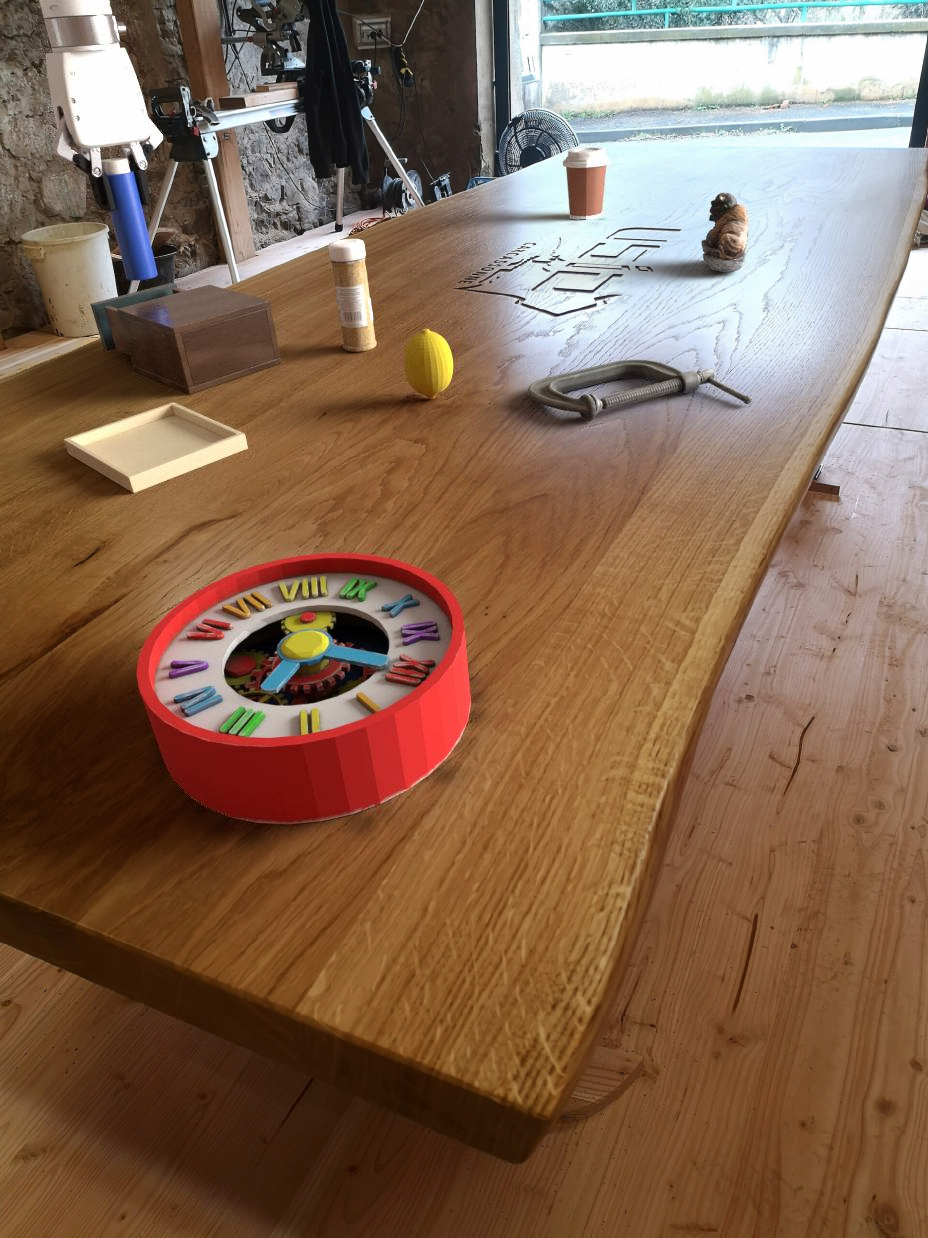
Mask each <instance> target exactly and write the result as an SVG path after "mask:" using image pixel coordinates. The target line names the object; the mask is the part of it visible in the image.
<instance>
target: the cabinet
mask: <svg viewBox="0 0 928 1238" xmlns="http://www.w3.org/2000/svg"><path fill="white" fill-rule="evenodd" d="M117 311H118V315H119V318H120V322H121V325H122V329H123V333H124V336H125V340H126V343H127V347H128V350H129V354H130V355H129V357H130V360H131V364H132V367H133V371H134V372H135V373H137V374H140V375H142V376H145V377H148V378H149V379H152V380H154V381H157V382H158V383H161V384H164V385H167V386H169V387H171V388H172V389H173V388H174V389H176V390H178V391H180V392H183V393H185V394H188V395H193V394H195V393H199V392H201V391H204V390H207V389H210V388H213V387H216V386H220V385H222V384H226V383H228V382H232V381H234V380H237V379H240V378H242V377H246V376H248V375H252V374H254V373H257V372H261V371H263V370H267V369H269V368H272V367H275V366H279V365H281V364H282V361H281V353H280V349H279V343H278V338H277V333H276V328H275V327H276V326H275V321H274V317H273V312H272V306H271V301H270V300H269V299H266V298H261V297H257V296H254V295H250V294H248V293H247V294H245V293H243V292H239V291H235V290H232V289H227V288H224V287H220V286H216V285H212V284H207V285H206V284H205V285H202V286H198V287H195V288H192V289H191V288H190V289H188V290H186V291H183V292H180V293H176V294H172V295H168V296H165V297H161V298H157V299H153V300H150V301H146V302H142V303H138V304H134V305H131V306H127V307H123V308H119V309H117Z"/></svg>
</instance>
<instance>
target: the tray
mask: <svg viewBox="0 0 928 1238" xmlns="http://www.w3.org/2000/svg"><path fill="white" fill-rule="evenodd" d="M63 442H64V445H65V448H66V451H67V454H68V455H70V456H71V457H73V458H74V459H76V460H78V461H80V462H81V463H83V464H85V465H86V466H88V467H90V468H91V469H92V470H95V471H96V472H98V473H99V474H101V475H103V476H104V477H106V478H108V479H109V480H111V481H113V482H114V483H116V484H118V485H119V486H121V487H123V489H126V490H128V492H129V491H130V492H131V493H133V494H135V493H138V492H140V491H143V490H146V489H149V488H151V487H153V486H157V485H159V484H161V483H164V482H165V481H169V480H171V479H174V478H176V477H179V476H182V475H184V474H187V473H189V472H191V471H194V470H196V469H200V468H202V467H204V466H207V465H209V464H212V463H215V462H217V461H221V460H222V459H225V458H227V457H230V456H233V455H236V454H238V453H240V452H243V451H246V450H248V449H249V447H248V441H247V438H246V434H245V433H244V432H242V431H240V430H237V429H235V428H233V427H230V426H228V425H226V424H224V423H221V422H219V421H217V420H214V419H212V418H210V417H208V416H205V415H204V414H202V413H199V412H197V411H194V410H192V409H190V408H188V407H186V406H183V405H182V404H181V405H180V404H178V403H176V402H174V401H173V402H170V403H167V404H164V405H161V406H158V407H154V408H152V409H149V410H146V411H143V412H140V413H137V414H134V415H131V416H128V417H125V418H122V419H119V420H116V421H114V422H110V423H108V424H105V425H102V426H98V427H96V428H92V429H90V430H87V431H84V432H80V433H79V434H75V435H73V436H69V437H67V438H63Z"/></svg>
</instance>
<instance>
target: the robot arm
mask: <svg viewBox="0 0 928 1238" xmlns="http://www.w3.org/2000/svg"><path fill="white" fill-rule="evenodd" d="M38 1H39V6H40V9H41V13H42V17H43V19H44V24H45V27H46V32H47V35H48V39H49V43H50V46H51V47H50V48H51V50H52V52H45V64H46V74H47V82H48V88H49V95H50V100H51V105H52V111H53V114H54V121H55V124H56V128H57V132H56V135H55V139H54V141H53V146H52V152H53V154H54V155H56V156H58V157H60V158H62V159H64V160H66V161H68V162H70V163H71V164H72V165H74V166H75V167H76V168H78V169H79V170H80V171H82V172H83V174H84V175H85V176H88V180H89V183H90V188H91V190H92V191H91V192H92V195H93V199H94V201H95V203H96V205H98V206H99V209H100V210H101V211H105V212H109V213H110V212H112V211H115V209H116V208H115V204H114V200H113V196H112V192H111V188H110V184H109V180H108V177H107V176H103V170H102V166H101V160H102V156H101V148H107V147H114V146H120V147H121V149H122V151H123V154H124V157H125V158H127V160H128V165H129V169H130V171H133V172H134V176H135V180H136V184H137V189H138V193H139V197H140V201H141V206H149V205H150V204H151V202H150V201H151V200H150V198H149V197H150V196H151V195H150V194H151V192H150V187H149V183H148V179H147V175H146V170H147V168H148V163H149V160H150V159H151V157H152V156H153V153H154V150H156V149H157V148H158V146H159V145H160V144H161V143H162V142H163V140H164V135H163V134H162V133H161V131H160V130H159V128H157V126H156V125H155V124H154V123H153V121H152V120H151V118H149V116H148V112H147V107H146V104H145V99H144V96H143V93H142V90H141V87H140V84H139V80H138V78H137V74H136V72H135V70H134V66H133V64H132V61H131V59H130V57H129V54H128V53H127V50H126V48H125V47H120V42H121V40H120V38H121V36H126V35H127V27H126V24H125V23H124V22H123V21H118V20H116V17H115V15H113V11H112V7H111V3H110V0H38ZM140 142H141V143H140ZM72 148H80V153H79V152H77V151H75V150H73V149H72Z"/></svg>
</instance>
